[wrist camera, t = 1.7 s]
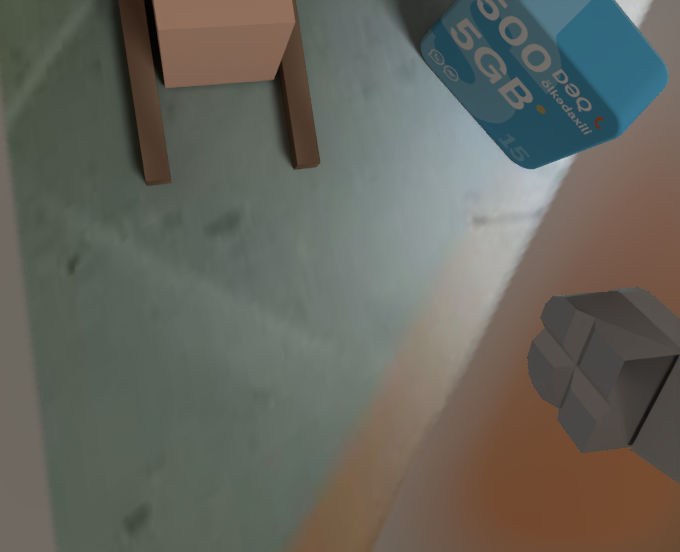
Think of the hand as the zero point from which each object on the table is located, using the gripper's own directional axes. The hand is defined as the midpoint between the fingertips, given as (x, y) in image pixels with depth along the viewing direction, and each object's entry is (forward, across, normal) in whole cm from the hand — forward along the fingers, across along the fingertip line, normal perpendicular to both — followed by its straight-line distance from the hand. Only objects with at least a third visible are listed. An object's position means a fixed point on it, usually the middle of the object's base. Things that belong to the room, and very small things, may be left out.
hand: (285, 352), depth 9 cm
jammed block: (+38, -3, +4) cm, 38 cm away
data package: (+34, -22, +8) cm, 42 cm away
